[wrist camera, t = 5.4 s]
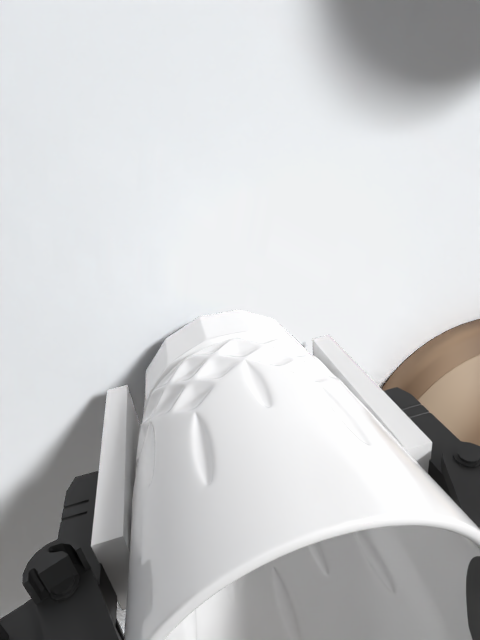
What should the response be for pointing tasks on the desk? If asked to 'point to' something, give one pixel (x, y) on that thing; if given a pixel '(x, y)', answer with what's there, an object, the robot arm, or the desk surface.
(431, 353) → the coaster
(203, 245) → the desk surface
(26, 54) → the desk surface
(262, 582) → the white cup
